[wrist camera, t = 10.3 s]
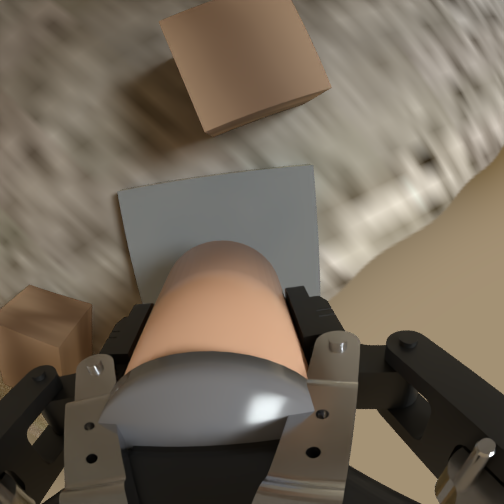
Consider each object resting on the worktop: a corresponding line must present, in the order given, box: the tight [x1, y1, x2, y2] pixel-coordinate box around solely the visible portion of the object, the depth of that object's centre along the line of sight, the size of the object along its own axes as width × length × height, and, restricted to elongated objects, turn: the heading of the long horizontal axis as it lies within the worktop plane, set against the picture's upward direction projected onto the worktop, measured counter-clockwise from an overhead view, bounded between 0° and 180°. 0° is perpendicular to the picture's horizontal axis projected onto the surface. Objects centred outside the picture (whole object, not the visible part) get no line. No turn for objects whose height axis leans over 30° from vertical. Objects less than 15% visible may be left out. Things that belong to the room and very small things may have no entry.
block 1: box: [0, 285, 92, 388], centre depth 16 cm, size 5×5×5 cm
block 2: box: [159, 0, 332, 137], centre depth 12 cm, size 5×5×5 cm
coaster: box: [118, 164, 320, 305], centre depth 17 cm, size 10×10×1 cm
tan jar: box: [98, 240, 323, 450], centre depth 10 cm, size 6×6×9 cm
